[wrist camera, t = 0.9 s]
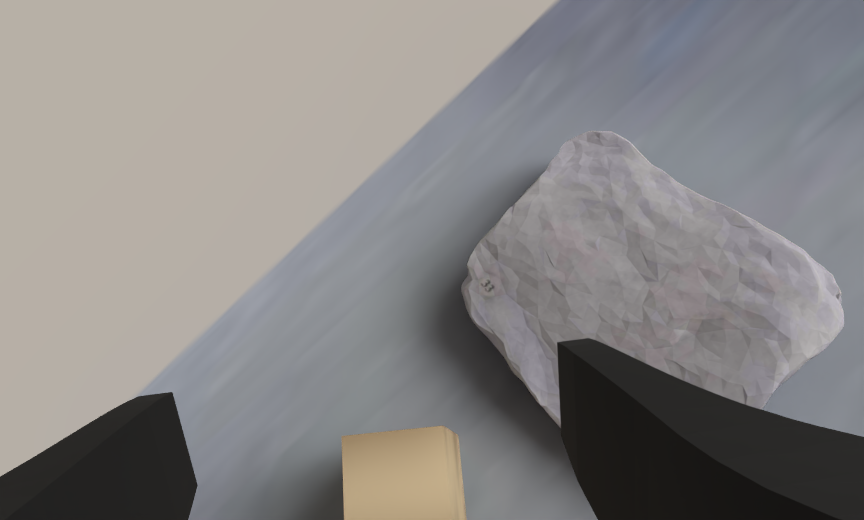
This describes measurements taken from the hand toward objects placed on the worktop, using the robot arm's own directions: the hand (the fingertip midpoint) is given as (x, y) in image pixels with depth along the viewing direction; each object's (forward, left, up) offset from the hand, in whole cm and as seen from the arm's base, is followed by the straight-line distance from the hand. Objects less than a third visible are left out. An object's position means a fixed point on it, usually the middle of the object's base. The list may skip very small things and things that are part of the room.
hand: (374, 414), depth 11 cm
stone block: (+4, -7, -13) cm, 15 cm away
